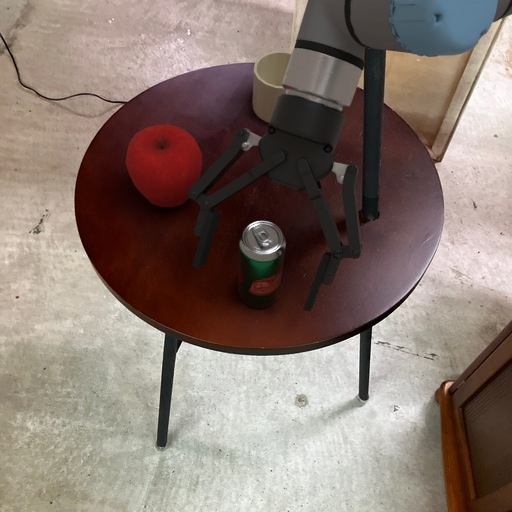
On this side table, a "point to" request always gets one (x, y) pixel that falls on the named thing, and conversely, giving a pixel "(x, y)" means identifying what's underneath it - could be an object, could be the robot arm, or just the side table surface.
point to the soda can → (260, 263)
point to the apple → (164, 164)
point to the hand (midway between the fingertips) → (252, 286)
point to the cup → (269, 82)
